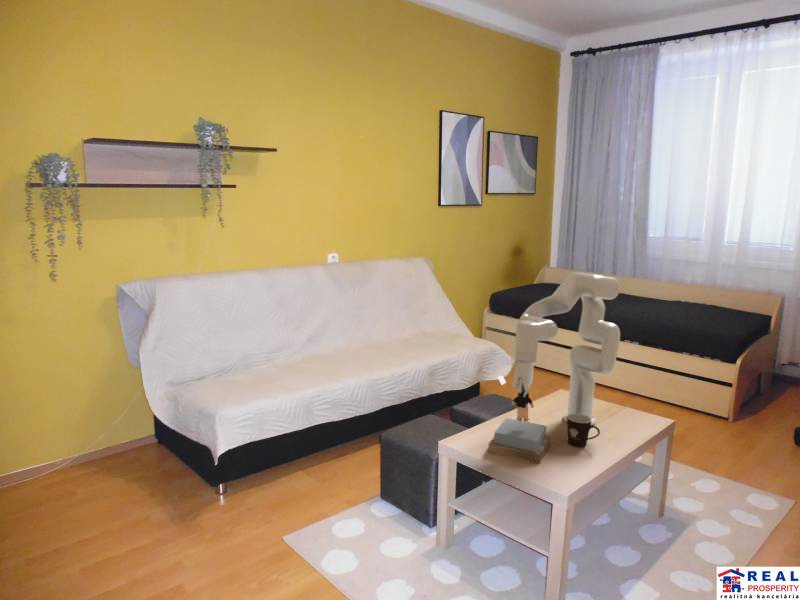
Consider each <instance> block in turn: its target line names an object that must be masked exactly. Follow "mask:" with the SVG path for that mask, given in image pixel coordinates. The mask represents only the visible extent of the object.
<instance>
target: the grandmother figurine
mask: <svg viewBox="0 0 800 600" xmlns="http://www.w3.org/2000/svg"><path fill="white" fill-rule="evenodd" d="M522 388H524V387H522ZM522 391H523V392H524V390H522ZM527 394H529V393H528V388H527V389H526V395H527ZM525 397H526V407H525V408H522V407H517V410H516V414H517V415H516V420H518V421H525V422H530V418H529V405H530V408H531V409H532V408H535V407H534V403H533V401H532V399H531V397H530V396H529V397H527V396H525ZM527 402H528V404H527ZM515 404H517V396H516V397H514V398H513V399H512V402H511V406H514V405H515Z"/></svg>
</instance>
